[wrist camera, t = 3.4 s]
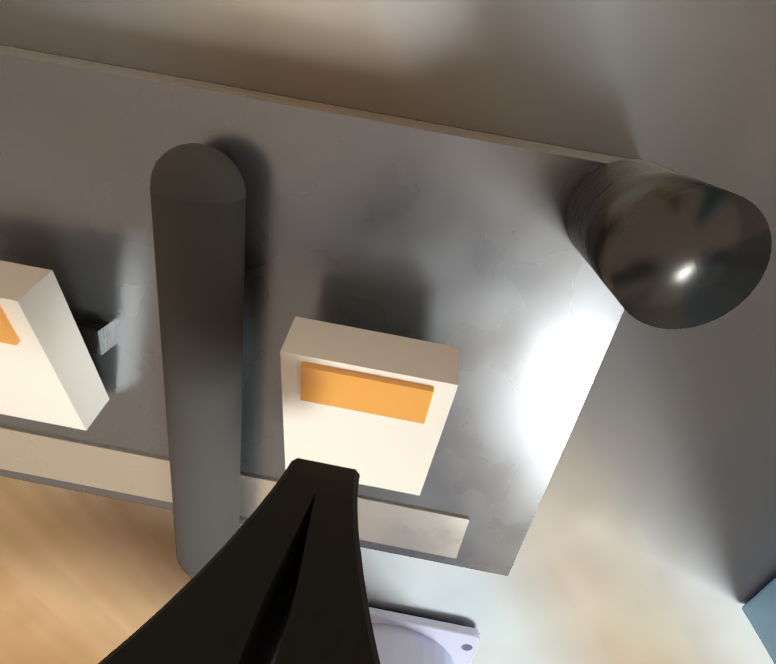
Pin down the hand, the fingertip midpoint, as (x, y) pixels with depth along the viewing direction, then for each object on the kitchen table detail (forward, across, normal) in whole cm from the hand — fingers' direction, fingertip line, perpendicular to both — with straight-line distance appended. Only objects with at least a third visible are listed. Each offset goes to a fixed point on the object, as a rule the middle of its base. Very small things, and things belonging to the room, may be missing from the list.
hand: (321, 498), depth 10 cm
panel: (+7, +5, 0) cm, 8 cm away
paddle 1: (+3, +10, 0) cm, 10 cm away
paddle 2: (+3, 0, 0) cm, 3 cm away
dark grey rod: (+4, +4, +1) cm, 6 cm away
